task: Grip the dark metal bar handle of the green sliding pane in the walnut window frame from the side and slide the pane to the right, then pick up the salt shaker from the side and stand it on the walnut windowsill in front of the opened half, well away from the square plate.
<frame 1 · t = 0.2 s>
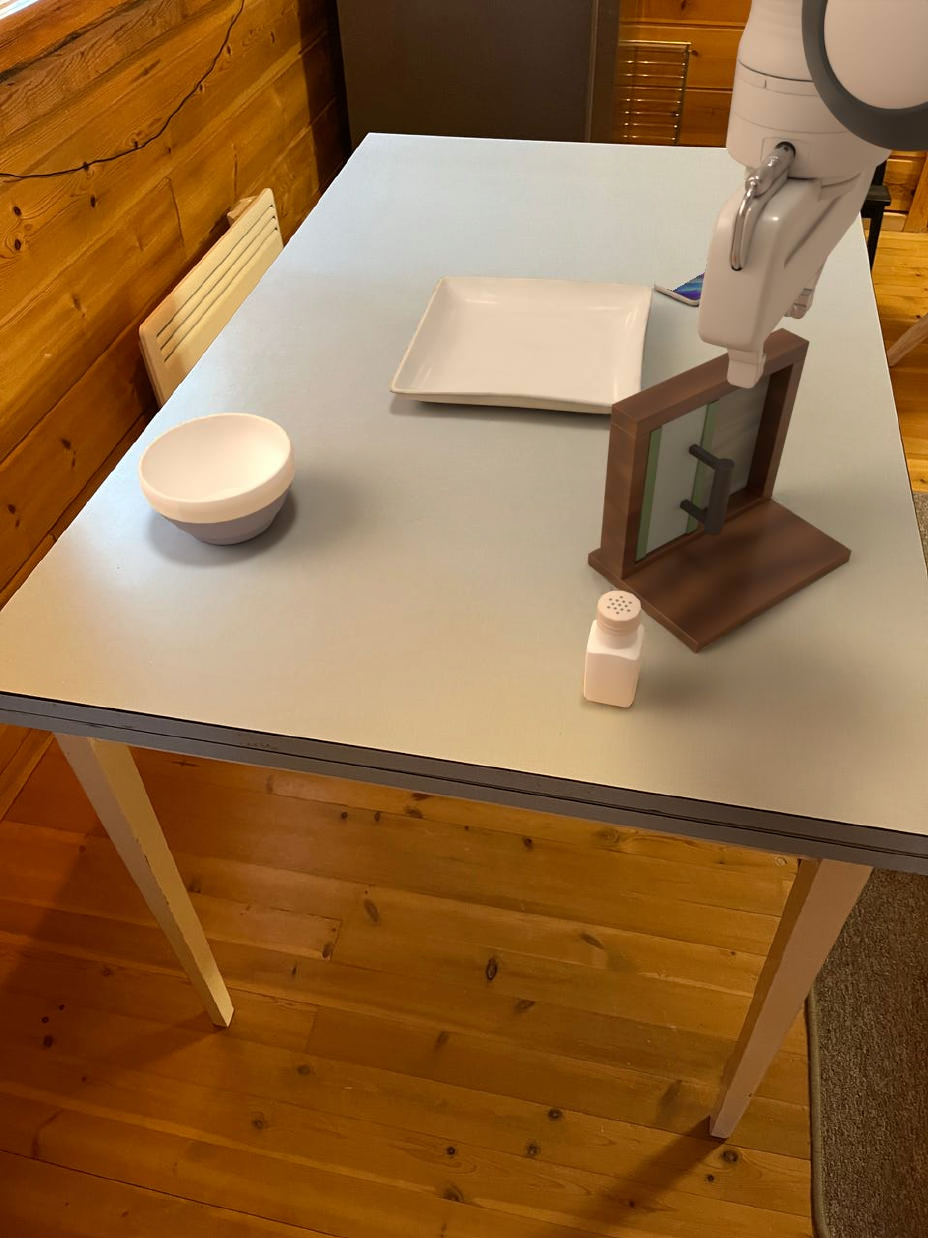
hand: (770, 345, 60), 26 cm above the table, tool pointing down, fingers open, 8 cm apart
bowl: (233, 519, 92), on the table
smartphone: (709, 280, 123), on the table
square plate: (528, 361, 111), on the table
window frame: (686, 539, 87), on the table
window sash: (689, 493, 77), point 9 cm above the table, slide at 0.0 cm
salt shaker: (610, 690, 75), on the table
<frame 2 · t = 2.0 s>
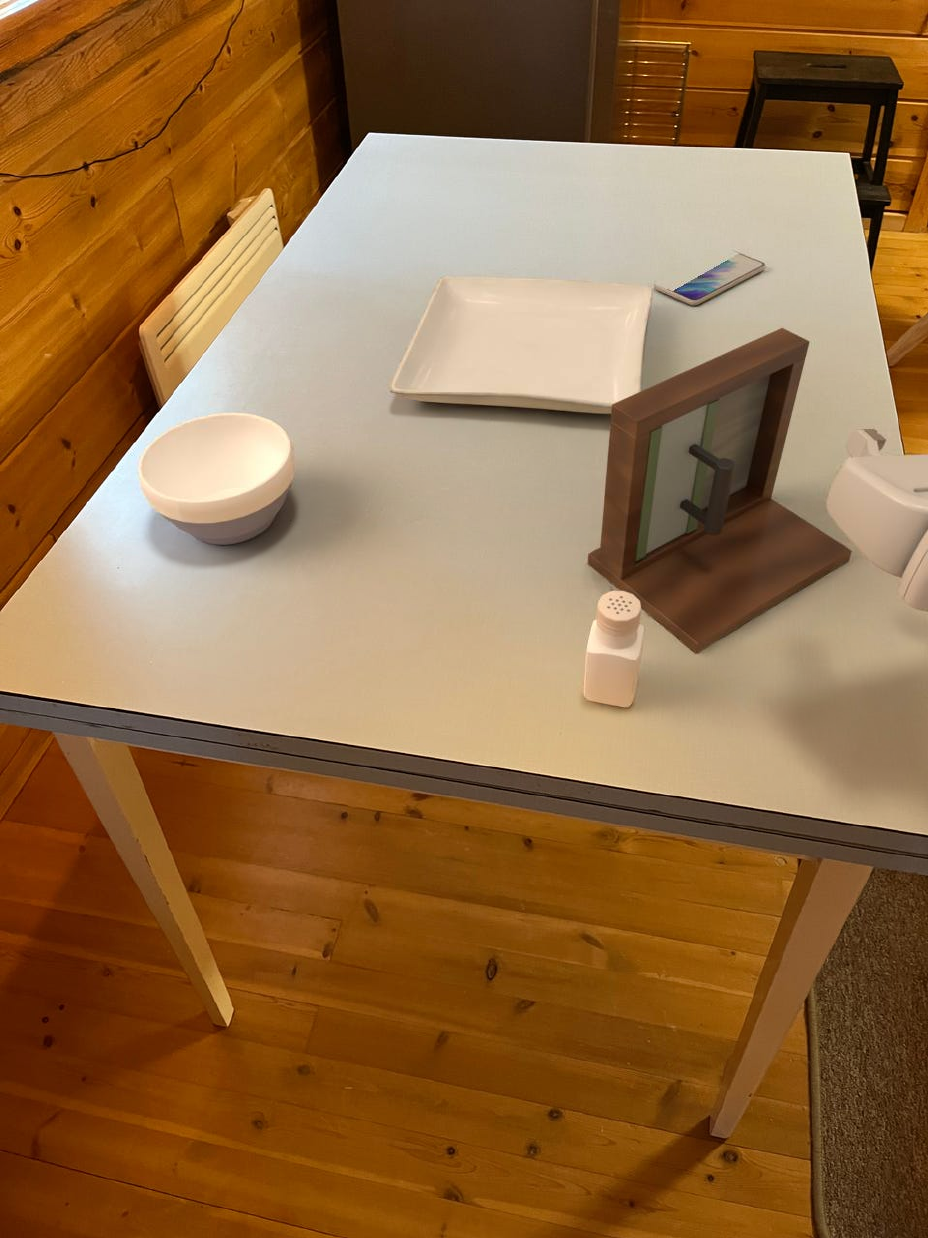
hand: (915, 435, 65), 19 cm above the table, tool horizontal, fingers open, 8 cm apart
nothing on the table moved.
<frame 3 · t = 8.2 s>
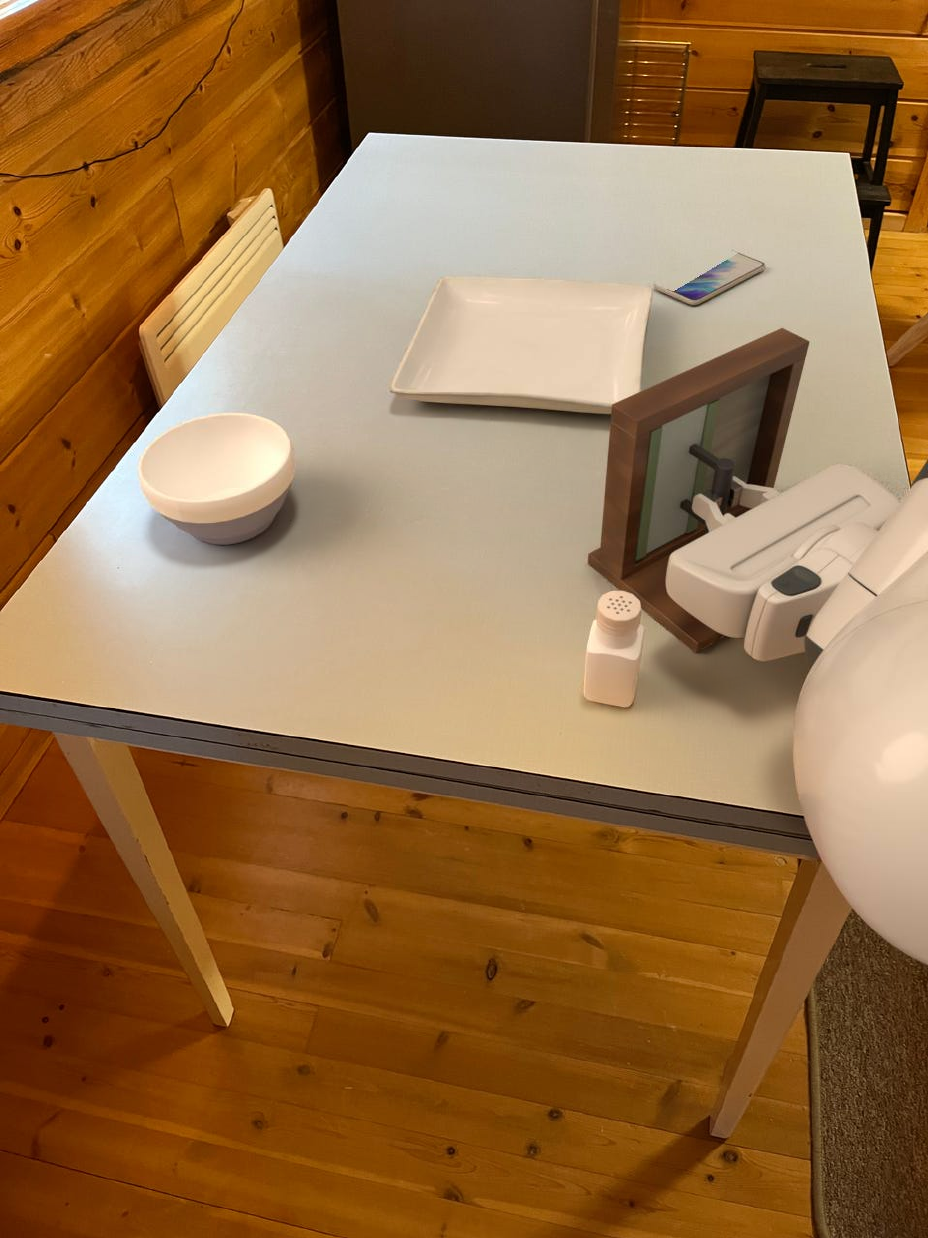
hand: (711, 492, 77), 9 cm above the table, tool horizontal, fingers closed on window sash
window sash: (689, 493, 77), point 9 cm above the table, slide at 0.0 cm, touching gripper
everything else where it was.
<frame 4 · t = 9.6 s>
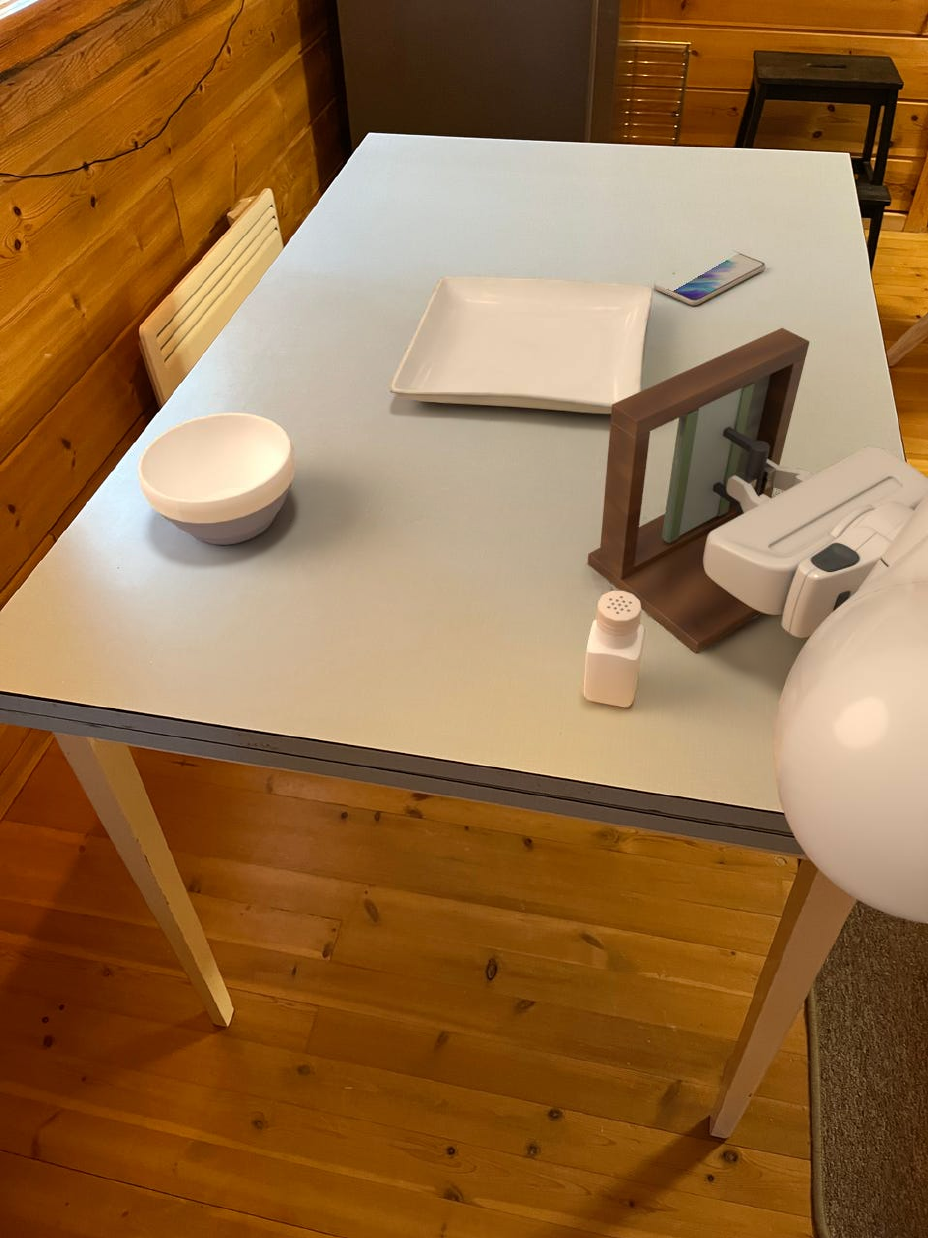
hand: (744, 474, 79), 9 cm above the table, tool horizontal, fingers closed on window sash
window sash: (723, 475, 79), point 9 cm above the table, slide at 4.0 cm, touching gripper
everything else where it was.
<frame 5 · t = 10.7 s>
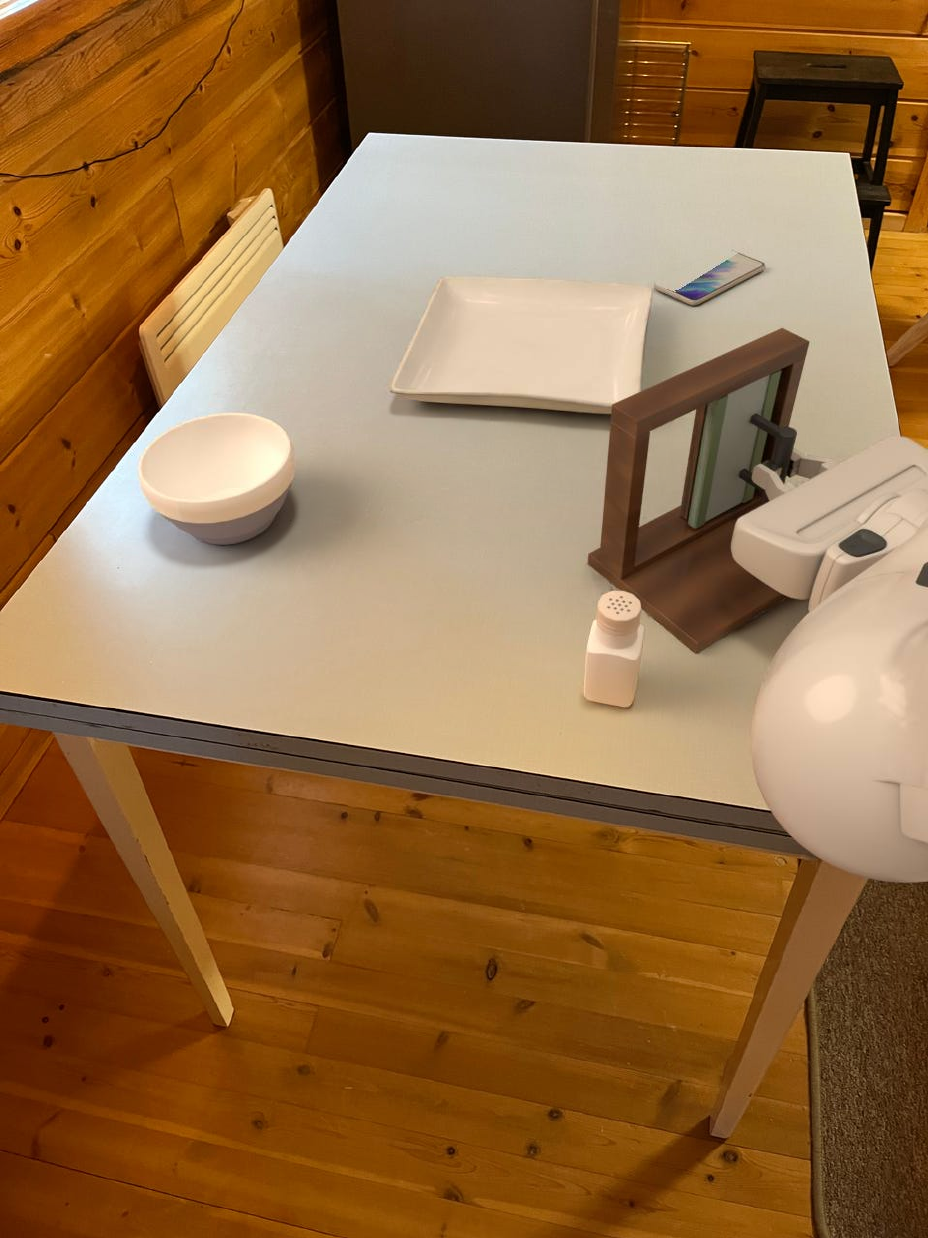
hand: (770, 462, 80), 9 cm above the table, tool horizontal, fingers closed, pressing on window sash
window sash: (750, 461, 80), point 9 cm above the table, slide at 7.2 cm, touching gripper
everything else where it was.
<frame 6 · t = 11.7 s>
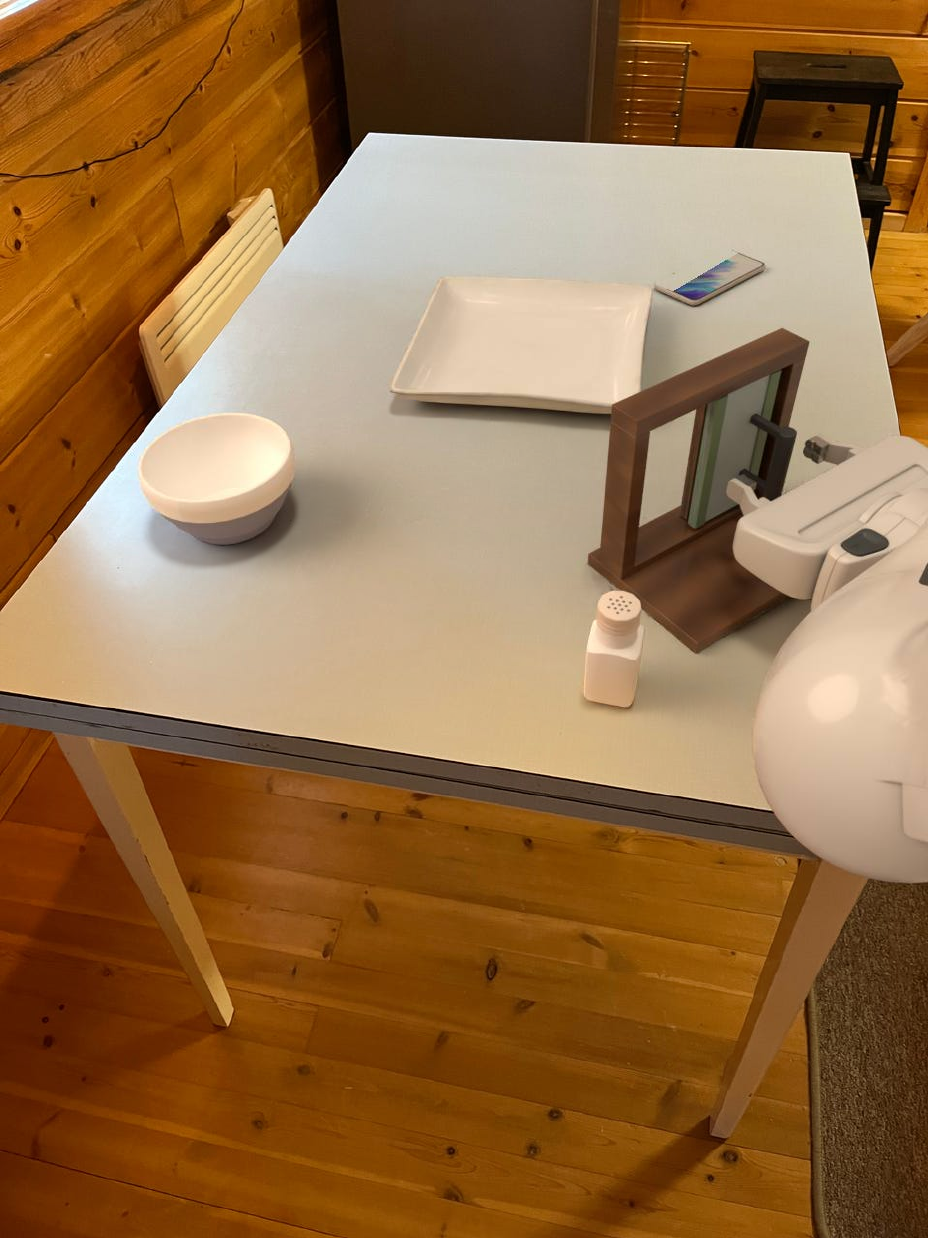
hand: (772, 463, 80), 9 cm above the table, tool horizontal, fingers open, 8 cm apart
window sash: (750, 461, 80), point 9 cm above the table, slide at 7.2 cm
everything else where it was.
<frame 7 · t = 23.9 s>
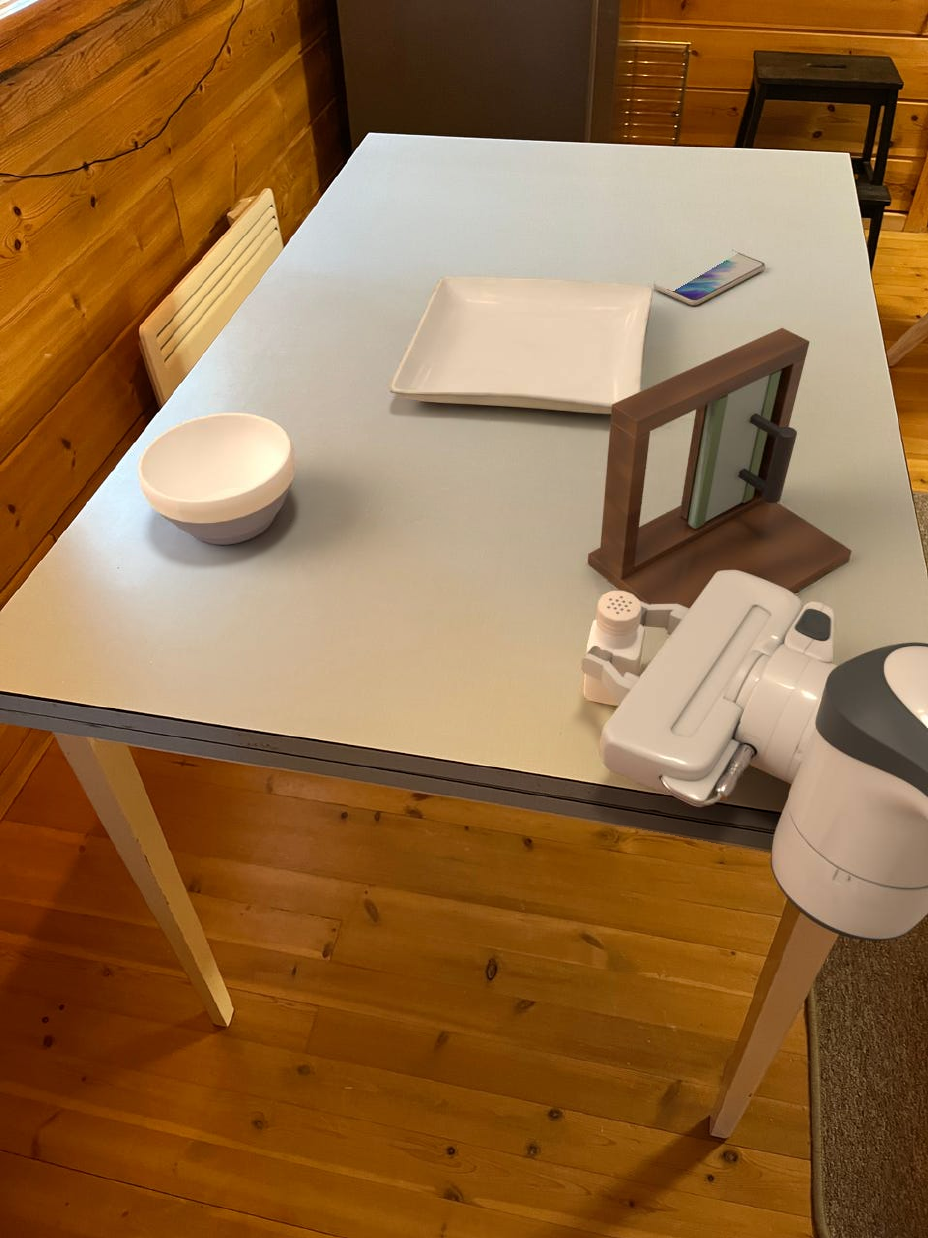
hand: (605, 632, 71), 6 cm above the table, tool horizontal, fingers closed on salt shaker, 4 cm apart
salt shaker: (610, 690, 75), on the table, touching gripper
everything else where it was.
when the fingers open (7 cm above the table, at t = 34.0 s): salt shaker stays where it is, resting on window frame.
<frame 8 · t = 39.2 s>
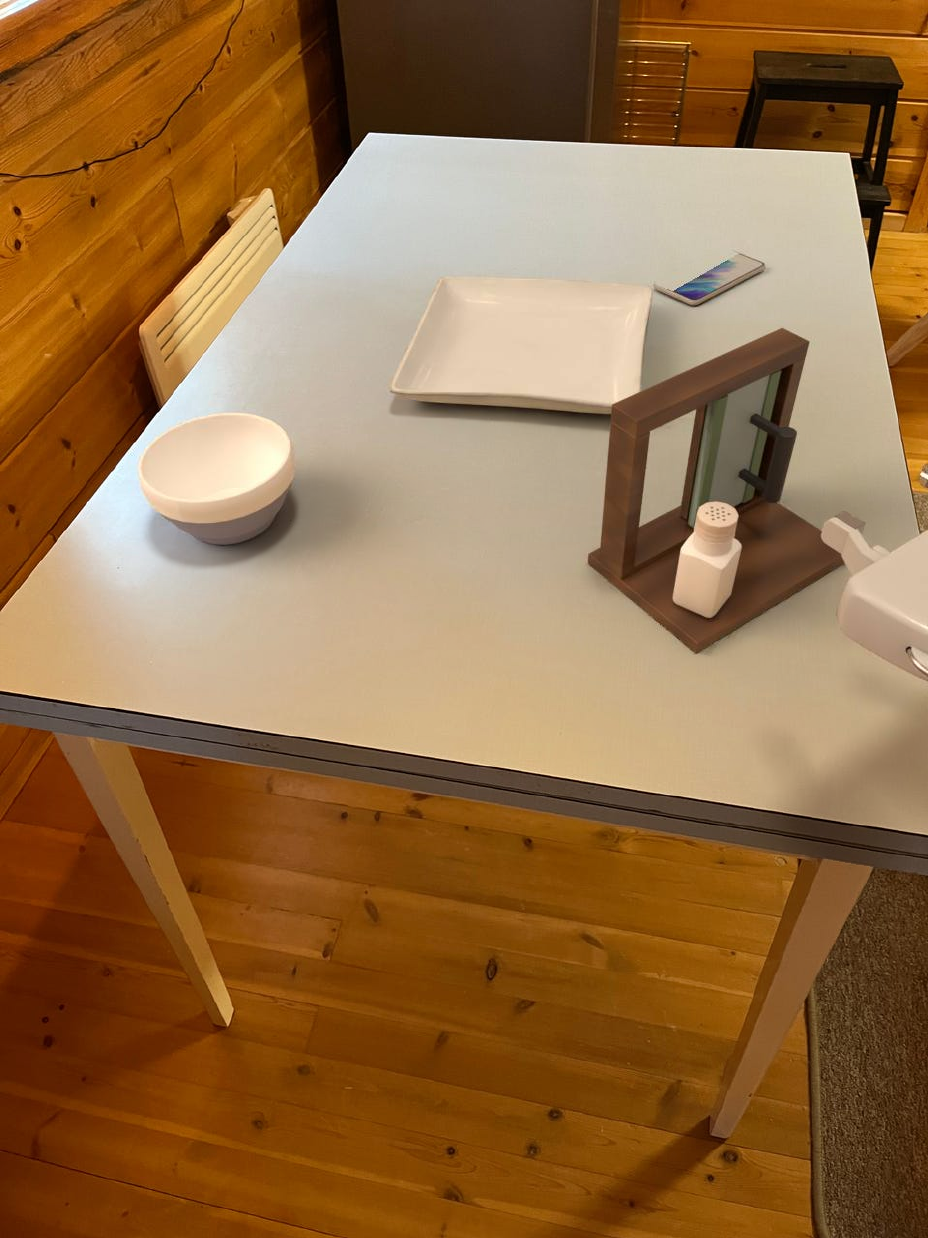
hand: (880, 495, 59), 20 cm above the table, tool horizontal, fingers open, 8 cm apart
salt shaker: (700, 601, 80), point 1 cm above the table, touching window frame
everything else where it was.
at the end: window sash slide at 7.2 cm; salt shaker 0.2 cm from the target spot on the window frame, point 1.0 cm above the window frame's base; salt shaker touching window frame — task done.
